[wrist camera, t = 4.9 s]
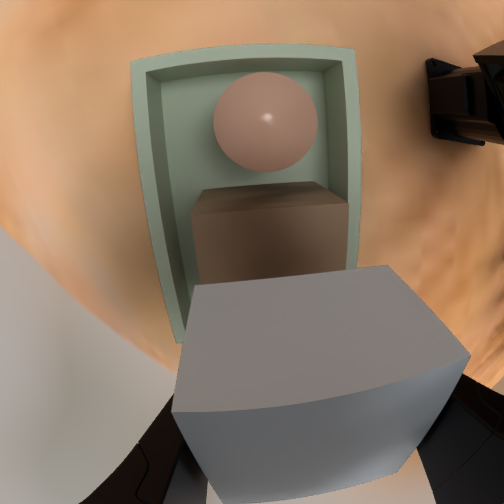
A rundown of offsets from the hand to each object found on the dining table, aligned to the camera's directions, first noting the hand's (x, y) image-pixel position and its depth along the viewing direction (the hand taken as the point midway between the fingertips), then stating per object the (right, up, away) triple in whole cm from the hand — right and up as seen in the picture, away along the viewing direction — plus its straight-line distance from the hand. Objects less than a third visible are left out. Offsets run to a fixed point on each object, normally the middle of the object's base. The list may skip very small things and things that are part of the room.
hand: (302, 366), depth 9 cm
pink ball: (-1, +11, +8) cm, 14 cm away
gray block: (0, 0, +1) cm, 1 cm away
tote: (-2, +8, +10) cm, 13 cm away
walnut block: (-1, +5, +11) cm, 12 cm away
